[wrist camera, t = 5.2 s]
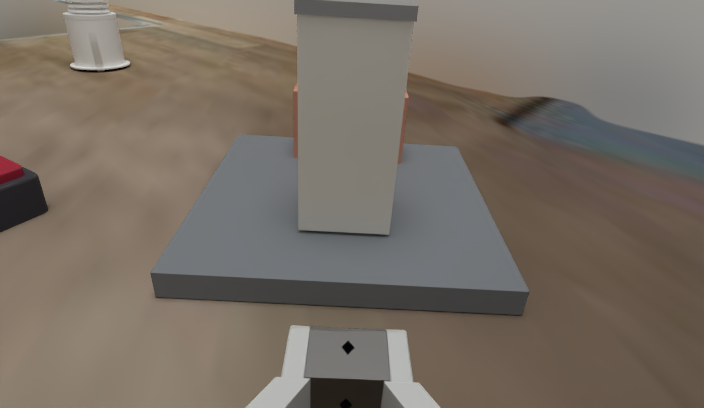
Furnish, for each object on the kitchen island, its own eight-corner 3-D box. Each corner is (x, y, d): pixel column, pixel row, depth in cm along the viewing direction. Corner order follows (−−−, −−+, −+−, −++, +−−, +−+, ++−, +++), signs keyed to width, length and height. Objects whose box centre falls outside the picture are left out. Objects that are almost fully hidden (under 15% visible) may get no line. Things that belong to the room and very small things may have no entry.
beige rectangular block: (386, 198, 28) (408, -4, 22) (391, 235, 24) (418, 5, 19) (304, 194, 28) (304, -10, 22) (296, 230, 24) (294, -2, 19)
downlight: (131, 71, 57) (115, -16, 52) (68, 74, 54) (45, -17, 50) (129, 60, 63) (115, -18, 59) (73, 62, 61) (53, -19, 56)
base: (453, 163, 38) (468, 86, 34) (521, 315, 22) (559, 200, 19) (240, 151, 37) (234, 72, 34) (155, 297, 22) (129, 177, 18)
